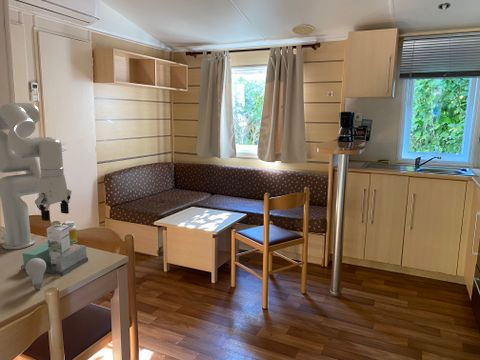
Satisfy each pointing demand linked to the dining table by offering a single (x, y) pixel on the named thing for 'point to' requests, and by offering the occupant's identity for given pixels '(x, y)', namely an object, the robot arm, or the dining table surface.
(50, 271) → the base
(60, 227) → the syrup box
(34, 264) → the lightbulb
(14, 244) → the robot arm
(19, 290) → the dining table surface
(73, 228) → the supplement bottle
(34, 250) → the teal green rectangular block
